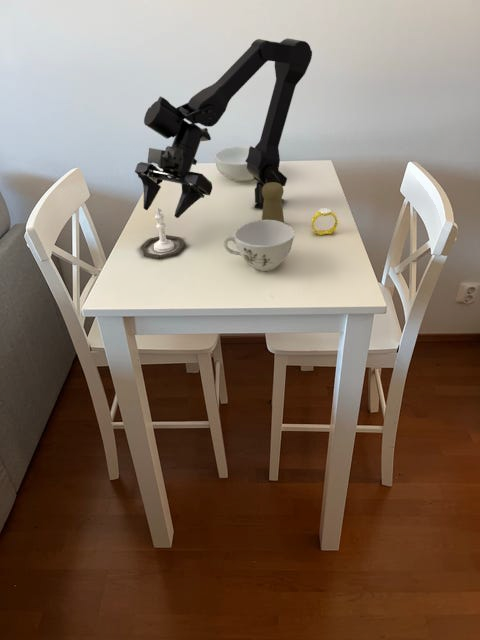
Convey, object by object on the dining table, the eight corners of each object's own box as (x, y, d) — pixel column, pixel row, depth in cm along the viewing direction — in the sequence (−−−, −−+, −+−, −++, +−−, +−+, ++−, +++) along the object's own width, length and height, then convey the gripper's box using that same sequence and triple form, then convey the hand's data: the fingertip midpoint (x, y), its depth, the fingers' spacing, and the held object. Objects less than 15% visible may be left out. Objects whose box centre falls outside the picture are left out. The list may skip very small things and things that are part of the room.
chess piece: (178, 244, 112) (173, 205, 106) (166, 253, 109) (159, 214, 102) (162, 240, 114) (156, 201, 108) (149, 249, 111) (142, 210, 105)
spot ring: (191, 241, 113) (190, 238, 113) (171, 261, 106) (171, 259, 105) (155, 235, 116) (154, 233, 116) (133, 254, 109) (133, 252, 109)
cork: (288, 223, 118) (289, 181, 111) (279, 233, 114) (279, 190, 107) (266, 219, 120) (265, 178, 113) (256, 229, 116) (255, 187, 109)
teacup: (294, 250, 107) (295, 218, 102) (292, 280, 97) (293, 246, 92) (230, 249, 109) (227, 217, 104) (221, 278, 99) (218, 245, 94)
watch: (335, 230, 114) (337, 207, 110) (337, 235, 112) (339, 212, 108) (310, 231, 114) (311, 208, 110) (312, 236, 112) (313, 213, 108)
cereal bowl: (271, 186, 137) (271, 162, 133) (215, 188, 138) (213, 165, 133) (269, 166, 150) (269, 143, 146) (218, 168, 151) (216, 146, 147)
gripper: (132, 125, 104) (107, 191, 103) (199, 135, 95) (172, 207, 95) (160, 150, 114) (138, 210, 113) (223, 161, 105) (199, 226, 105)
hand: (160, 213), depth 106 cm, fingers open, 9 cm apart
